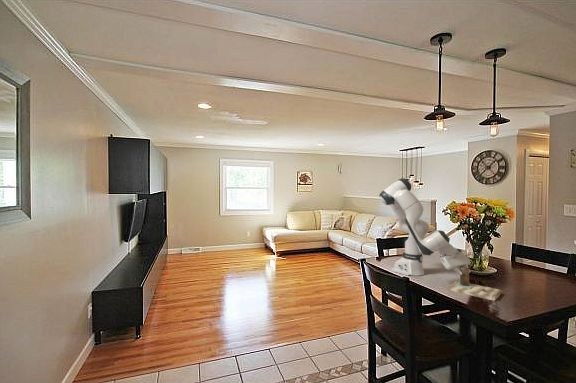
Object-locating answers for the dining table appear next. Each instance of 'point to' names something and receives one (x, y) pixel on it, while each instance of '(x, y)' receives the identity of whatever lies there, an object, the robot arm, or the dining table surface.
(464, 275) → the wooden cylinder
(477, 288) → the puzzle board
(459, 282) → the felt pad
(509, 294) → the dining table surface
